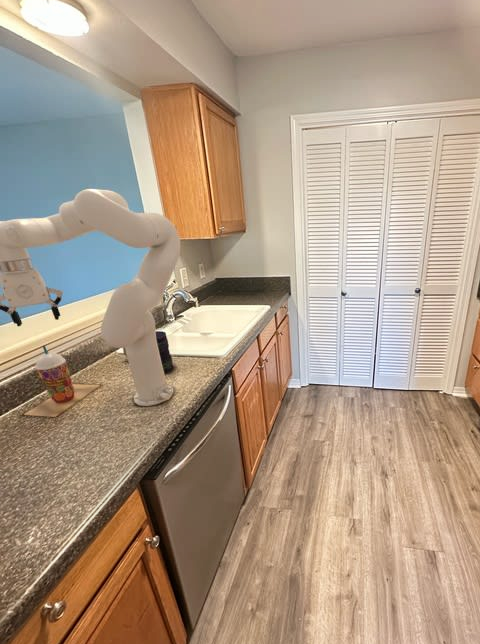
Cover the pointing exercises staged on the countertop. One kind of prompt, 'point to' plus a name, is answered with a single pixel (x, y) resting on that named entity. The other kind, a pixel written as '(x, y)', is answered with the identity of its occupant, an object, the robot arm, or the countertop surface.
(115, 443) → the countertop surface
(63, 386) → the smoothie
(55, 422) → the countertop surface
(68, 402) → the board
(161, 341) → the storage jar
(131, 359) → the robot arm
